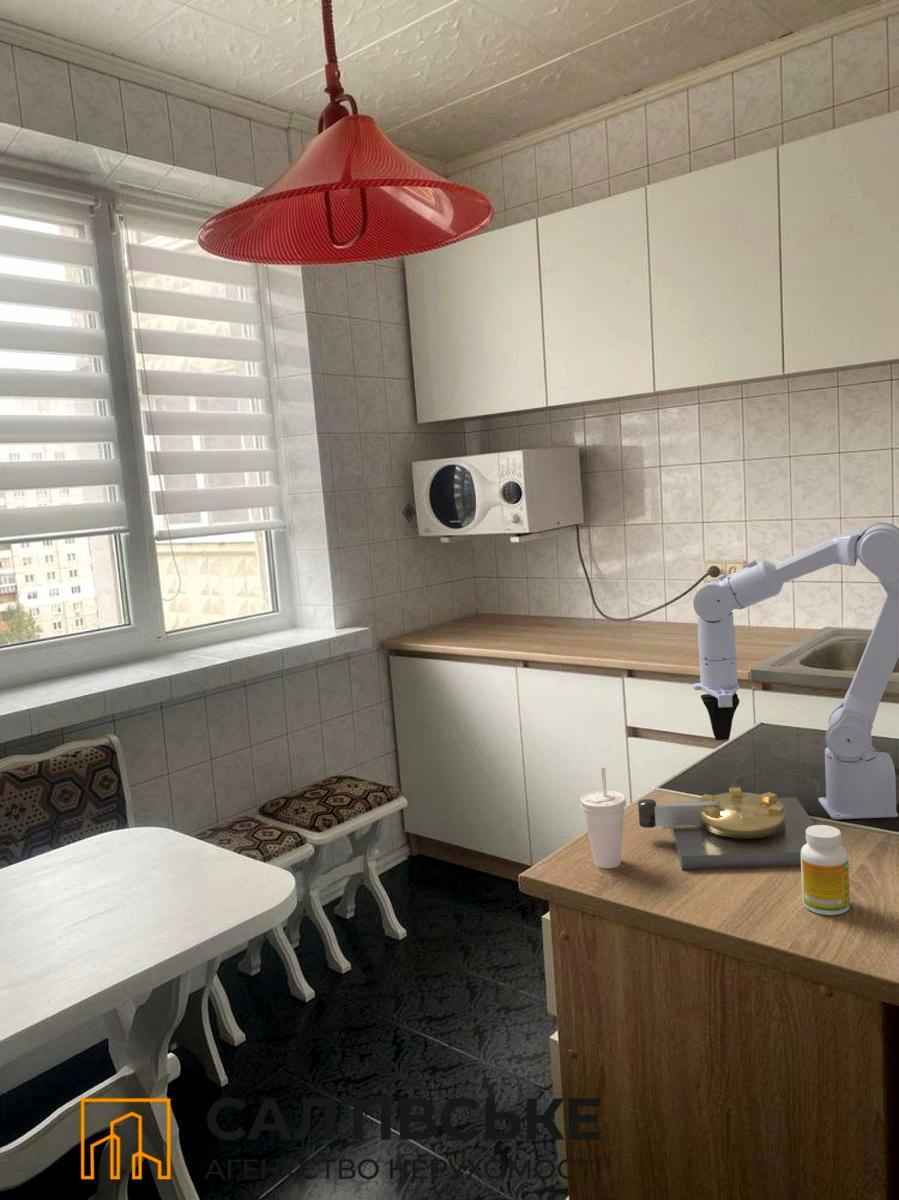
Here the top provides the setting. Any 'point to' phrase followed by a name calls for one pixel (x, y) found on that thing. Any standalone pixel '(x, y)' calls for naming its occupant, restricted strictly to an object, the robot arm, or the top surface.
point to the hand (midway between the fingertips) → (721, 738)
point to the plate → (744, 844)
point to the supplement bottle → (824, 871)
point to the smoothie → (605, 824)
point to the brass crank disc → (720, 814)
